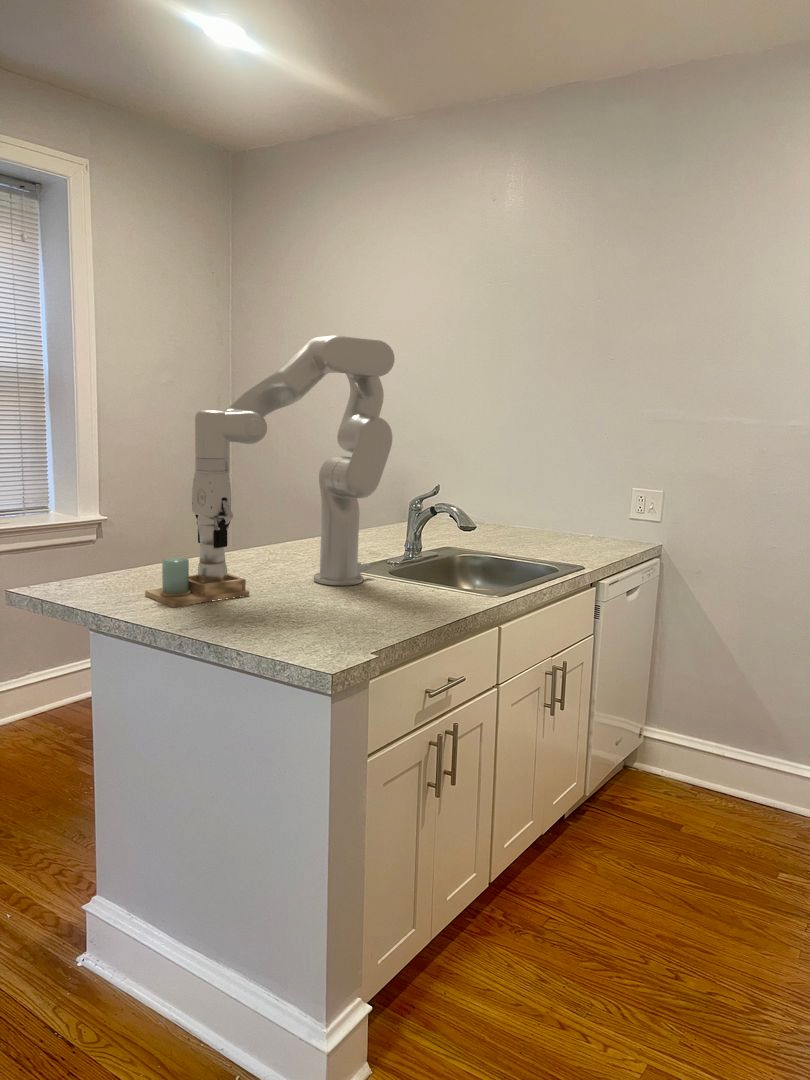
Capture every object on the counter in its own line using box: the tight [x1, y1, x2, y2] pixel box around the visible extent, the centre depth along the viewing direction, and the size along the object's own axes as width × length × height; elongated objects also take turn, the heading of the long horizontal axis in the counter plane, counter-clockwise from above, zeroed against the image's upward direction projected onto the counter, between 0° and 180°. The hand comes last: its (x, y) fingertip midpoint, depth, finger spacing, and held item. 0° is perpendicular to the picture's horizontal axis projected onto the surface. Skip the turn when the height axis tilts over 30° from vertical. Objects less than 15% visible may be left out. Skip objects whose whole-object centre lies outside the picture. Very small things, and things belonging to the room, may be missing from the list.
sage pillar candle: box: [161, 557, 190, 594], centre depth 177 cm, size 6×6×7 cm
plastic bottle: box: [196, 514, 228, 583], centre depth 182 cm, size 6×7×20 cm
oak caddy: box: [144, 572, 250, 608], centre depth 181 cm, size 19×13×4 cm
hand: (212, 544), depth 182 cm, fingers closed on plastic bottle, 6 cm apart
